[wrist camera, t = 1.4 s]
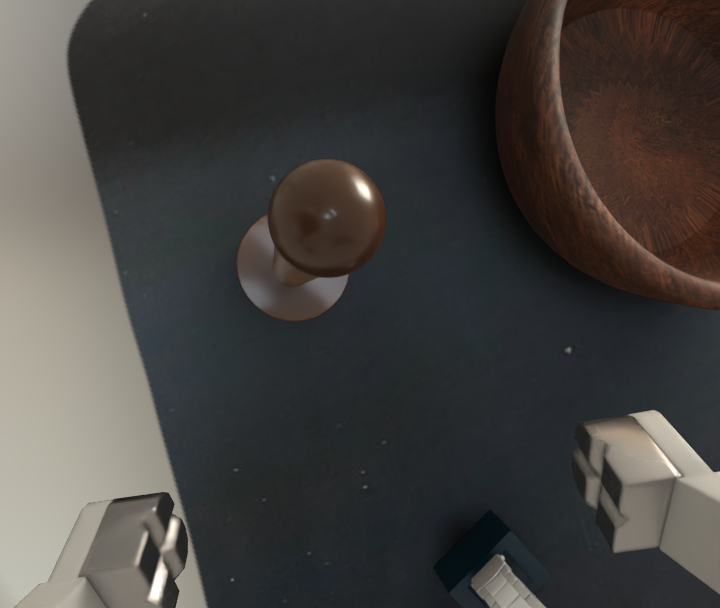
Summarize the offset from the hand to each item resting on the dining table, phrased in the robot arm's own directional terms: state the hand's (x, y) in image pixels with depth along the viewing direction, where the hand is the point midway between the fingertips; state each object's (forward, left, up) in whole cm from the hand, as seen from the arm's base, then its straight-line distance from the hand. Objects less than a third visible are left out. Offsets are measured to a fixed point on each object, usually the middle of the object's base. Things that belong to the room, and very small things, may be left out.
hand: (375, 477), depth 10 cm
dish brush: (-5, +3, -24) cm, 24 cm away
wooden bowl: (+2, +28, -24) cm, 37 cm away
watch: (+19, +1, -24) cm, 31 cm away
